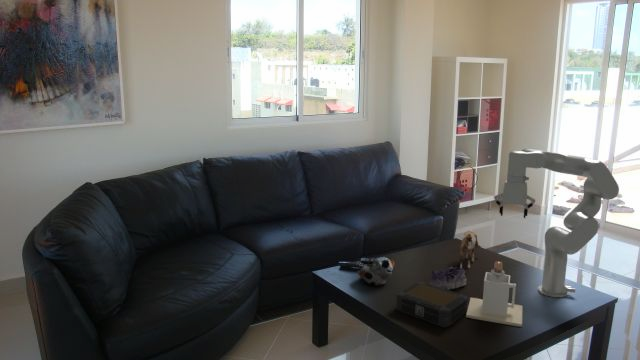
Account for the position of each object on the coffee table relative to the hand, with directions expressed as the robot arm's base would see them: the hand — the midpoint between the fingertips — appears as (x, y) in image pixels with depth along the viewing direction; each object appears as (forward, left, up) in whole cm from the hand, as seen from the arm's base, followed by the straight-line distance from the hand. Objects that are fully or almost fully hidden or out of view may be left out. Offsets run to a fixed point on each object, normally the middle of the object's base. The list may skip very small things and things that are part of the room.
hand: (512, 216), depth 227 cm
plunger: (+4, +20, -36) cm, 41 cm away
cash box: (+30, +29, -39) cm, 57 cm away
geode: (+27, 0, -39) cm, 47 cm away
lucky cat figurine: (+61, +6, -39) cm, 72 cm away
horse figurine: (+18, -34, -38) cm, 54 cm away
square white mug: (+4, +20, -38) cm, 43 cm away
